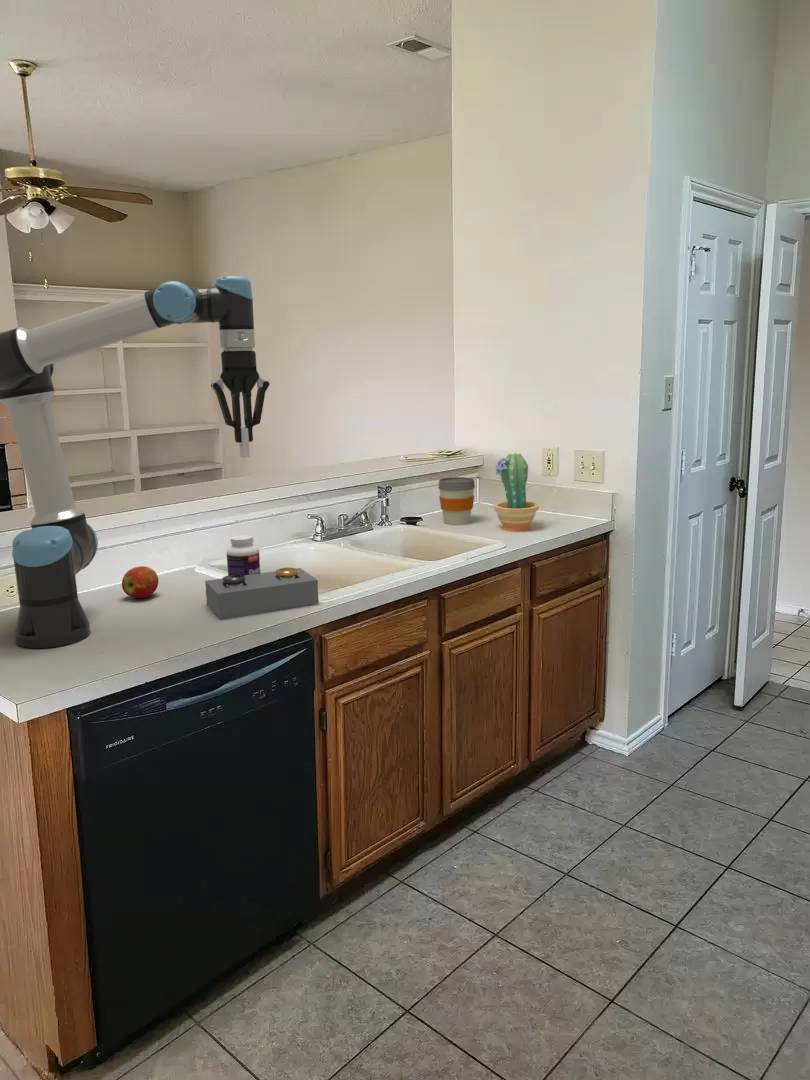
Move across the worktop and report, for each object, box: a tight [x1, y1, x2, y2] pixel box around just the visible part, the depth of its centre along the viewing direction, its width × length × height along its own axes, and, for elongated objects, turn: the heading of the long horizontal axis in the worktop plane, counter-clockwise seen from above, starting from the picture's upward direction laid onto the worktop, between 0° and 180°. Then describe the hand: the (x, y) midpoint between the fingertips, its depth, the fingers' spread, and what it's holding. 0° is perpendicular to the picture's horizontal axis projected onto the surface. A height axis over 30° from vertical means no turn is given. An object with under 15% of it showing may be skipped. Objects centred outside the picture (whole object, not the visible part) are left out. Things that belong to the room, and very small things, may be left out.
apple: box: [121, 565, 159, 599], centre depth 211 cm, size 8×8×8 cm
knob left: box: [222, 574, 245, 588], centre depth 200 cm, size 5×5×8 cm
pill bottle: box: [226, 534, 261, 576], centre depth 212 cm, size 8×8×14 cm
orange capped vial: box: [275, 567, 298, 581], centre depth 205 cm, size 5×5×8 cm
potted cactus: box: [493, 453, 540, 532], centre depth 279 cm, size 15×15×25 cm
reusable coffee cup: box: [438, 476, 476, 526], centre depth 292 cm, size 13×13×15 cm
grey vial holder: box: [204, 567, 320, 620], centre depth 203 cm, size 24×13×6 cm, turn 115°
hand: (245, 456), depth 190 cm, fingers closed
